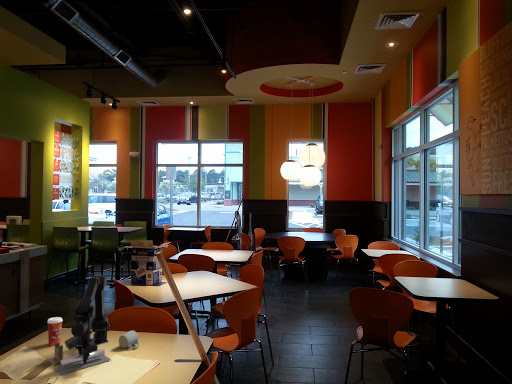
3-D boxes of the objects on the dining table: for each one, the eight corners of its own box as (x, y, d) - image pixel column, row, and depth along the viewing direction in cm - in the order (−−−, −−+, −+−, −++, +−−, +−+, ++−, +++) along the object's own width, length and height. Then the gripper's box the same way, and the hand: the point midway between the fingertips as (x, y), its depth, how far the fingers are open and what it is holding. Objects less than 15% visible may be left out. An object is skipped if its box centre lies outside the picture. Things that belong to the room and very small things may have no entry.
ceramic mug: (117, 347, 206) (117, 333, 206) (128, 342, 213) (128, 329, 213) (131, 351, 201) (132, 337, 201) (142, 346, 208) (143, 332, 208)
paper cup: (55, 347, 205) (56, 321, 205) (43, 345, 206) (44, 320, 207) (65, 342, 213) (66, 317, 213) (53, 340, 214) (54, 316, 215)
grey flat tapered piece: (103, 355, 195) (103, 354, 195) (111, 360, 188) (111, 359, 188) (53, 369, 177) (53, 368, 177) (60, 375, 171) (60, 374, 171)
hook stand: (91, 350, 202) (92, 334, 202) (97, 354, 196) (98, 337, 196) (49, 361, 187) (49, 343, 187) (54, 366, 181) (55, 348, 181)
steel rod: (102, 354, 191) (102, 348, 191) (104, 356, 189) (104, 349, 189) (60, 365, 177) (60, 359, 177) (62, 367, 175) (62, 361, 175)
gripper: (60, 328, 184) (59, 360, 184) (74, 338, 171) (73, 373, 171) (83, 323, 192) (82, 354, 192) (98, 332, 179) (97, 365, 179)
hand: (83, 361), depth 183 cm, fingers closed on steel rod, 3 cm apart
